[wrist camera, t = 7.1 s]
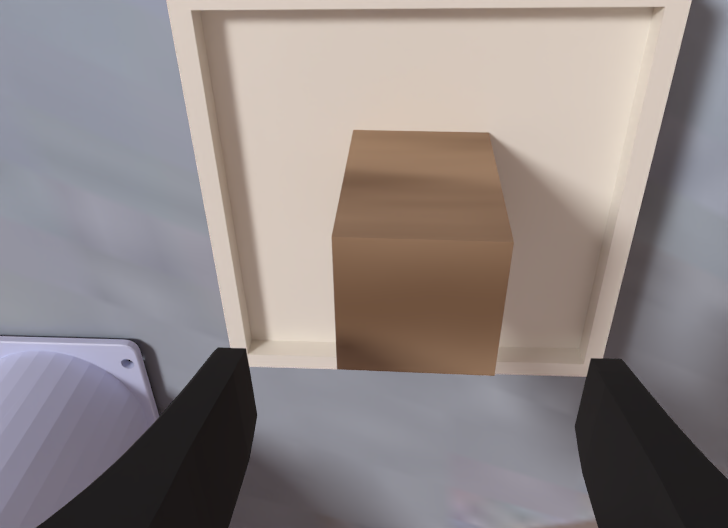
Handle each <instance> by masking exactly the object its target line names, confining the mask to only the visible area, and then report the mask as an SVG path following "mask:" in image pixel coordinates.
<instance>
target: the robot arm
mask: <svg viewBox="0 0 728 528" xmlns="http://www.w3.org/2000/svg"><path fill="white" fill-rule="evenodd" d="M126 359H128V360H131V361H132V362H130V361H128V360H126ZM256 419H257V411H256V405H255V399H254V393H253V387H252V381H251V375H250V369H249V363H248V357H247V351H246V348H217V349H216V350H215V351H214V352H213V353H212V354H211V356H210V357H209V358H208V359H207V361H206V362H205V363H204V364H203V366H202V367H201V368H200V369H199V371H198V372H197V373H196V374H195V376H194V377H193V378H192V379H191V380H190V382H189V383H188V384H187V385H186V386H185V388H184V389H183V390H182V391H181V392H180V394H179V395H178V396H177V397H176V398H175V399H174V401H173V402H172V403H171V404H170V405H169V406H168V407H167V409H166V410H165V411H164V412H163V413H162V414H161V415H160V417H159V414H158V410H157V407H156V403H155V400H154V396H153V393H152V389H151V386H150V382H149V379H148V376H147V372H146V369H145V365H144V362H143V358H142V355H141V351H140V349H139V347H138V345H137V344H136V343H134V342H132V341H130V340H124V339H88V338H52V337H15V336H0V528H228V527H229V524H230V520H231V517H232V514H233V511H234V508H235V504H236V501H237V498H238V495H239V492H240V488H241V485H242V482H243V478H244V475H245V472H246V469H247V465H248V462H249V458H250V453H251V447H252V442H253V437H254V431H255V425H256ZM575 431H576V438H577V444H578V451H579V456H580V462H581V468H582V473H583V477H584V480H585V484H586V487H587V491H588V494H589V498H590V501H591V504H592V508H593V511H594V515H595V518H596V521H597V525H598V528H728V479H727V478H726V477H725V476H724V475H723V474H722V473H721V472H720V471H719V470H718V469H717V468H716V467H715V466H714V465H713V464H712V463H711V462H710V461H709V460H708V459H707V458H706V457H705V456H704V454H703V453H702V452H701V451H700V450H699V449H698V448H697V447H696V446H695V445H694V444H693V443H692V442H691V440H690V439H689V438H688V437H687V436H686V435H685V434H684V433H683V431H682V430H681V429H680V428H679V427H678V426H677V425H676V424H675V423H674V421H673V420H672V419H671V418H670V417H669V416H668V414H667V413H666V412H665V411H664V410H663V409H662V407H661V406H660V405H659V404H658V403H657V401H656V400H655V399H654V398H653V397H652V395H651V394H650V393H649V392H648V391H647V389H646V388H645V387H644V386H643V384H642V383H641V382H640V381H639V380H638V378H637V377H636V376H635V375H634V373H633V372H632V371H631V370H630V368H629V367H628V366H627V365H626V364H625V362H624V361H623V360H622V359H602V358H591V360H590V364H589V368H588V373H587V377H586V381H585V385H584V390H583V394H582V398H581V402H580V407H579V411H578V415H577V419H576V424H575Z"/></svg>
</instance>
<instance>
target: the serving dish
mask: <svg viewBox="0 0 728 528" xmlns="http://www.w3.org/2000/svg"><path fill="white" fill-rule="evenodd" d="M166 1H167V7H168V12H169V17H170V23H171V28H172V34H173V39H174V45H175V50H176V55H177V61H178V66H179V72H180V77H181V83H182V88H183V93H184V99H185V104H186V110H187V115H188V120H189V126H190V131H191V137H192V142H193V148H194V153H195V158H196V164H197V169H198V175H199V180H200V186H201V191H202V196H203V202H204V207H205V213H206V218H207V224H208V229H209V234H210V240H211V245H212V251H213V256H214V261H215V267H216V272H217V278H218V283H219V289H220V294H221V299H222V305H223V310H224V316H225V321H226V327H227V332H228V337H229V343H230V348H246V351H247V357H248V363H249V367H280V368H313V369H337V357H336V333H335V309H334V285H333V262H332V238H331V237H332V232H333V227H334V222H335V217H336V212H337V207H338V202H339V197H340V192H341V188H342V183H343V178H344V173H345V168H346V163H347V158H348V153H349V148H350V143H351V138H352V133H353V130H387V131H437V132H488V133H489V135H490V139H491V144H492V148H493V153H494V157H495V161H496V166H497V170H498V174H499V179H500V183H501V188H502V192H503V196H504V201H505V205H506V209H507V214H508V218H509V223H510V227H511V231H512V236H513V240H514V246H513V253H512V259H511V266H510V273H509V280H508V287H507V294H506V300H505V307H504V314H503V321H502V328H501V335H500V341H499V348H498V355H497V362H496V369H495V374H512V375H545V376H578V377H587V373H588V368H589V364H590V360H591V358H602V359H603V356H604V352H605V348H606V344H607V339H608V335H609V331H610V327H611V323H612V319H613V315H614V311H615V307H616V303H617V299H618V295H619V291H620V287H621V283H622V279H623V275H624V271H625V267H626V263H627V259H628V255H629V251H630V247H631V243H632V239H633V235H634V231H635V227H636V223H637V219H638V215H639V211H640V207H641V203H642V199H643V195H644V191H645V187H646V183H647V179H648V175H649V171H650V166H651V162H652V158H653V154H654V150H655V146H656V142H657V138H658V134H659V130H660V126H661V122H662V118H663V114H664V110H665V106H666V102H667V98H668V94H669V90H670V86H671V82H672V78H673V74H674V70H675V66H676V62H677V58H678V54H679V50H680V46H681V42H682V38H683V34H684V30H685V26H686V22H687V18H688V14H689V10H690V6H691V2H692V0H166Z"/></svg>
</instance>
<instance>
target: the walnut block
mask: <svg viewBox="0 0 728 528" xmlns="http://www.w3.org/2000/svg"><path fill="white" fill-rule="evenodd" d="M331 238H332V262H333V285H334V309H335V333H336V357H337V369H346V370H370V371H394V372H418V373H442V374H466V375H490V376H495V369H496V362H497V355H498V348H499V341H500V335H501V328H502V321H503V314H504V307H505V300H506V294H507V287H508V280H509V273H510V266H511V259H512V253H513V246H514V240H513V236H512V231H511V227H510V223H509V218H508V214H507V209H506V205H505V201H504V196H503V192H502V188H501V183H500V179H499V174H498V170H497V166H496V161H495V157H494V153H493V148H492V144H491V139H490V135H489V133H488V132H437V131H387V130H353V133H352V138H351V143H350V148H349V153H348V158H347V163H346V168H345V173H344V178H343V183H342V188H341V192H340V197H339V202H338V207H337V212H336V217H335V222H334V227H333V232H332V237H331Z"/></svg>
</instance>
